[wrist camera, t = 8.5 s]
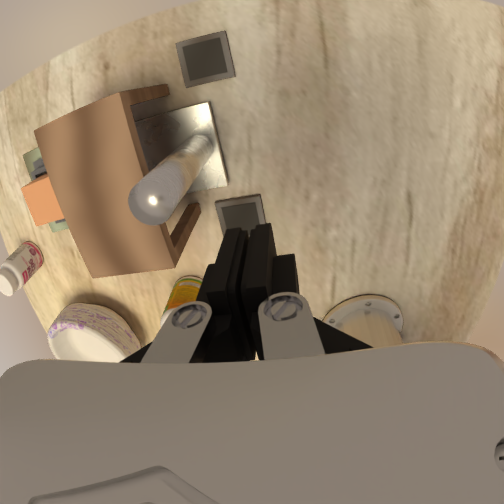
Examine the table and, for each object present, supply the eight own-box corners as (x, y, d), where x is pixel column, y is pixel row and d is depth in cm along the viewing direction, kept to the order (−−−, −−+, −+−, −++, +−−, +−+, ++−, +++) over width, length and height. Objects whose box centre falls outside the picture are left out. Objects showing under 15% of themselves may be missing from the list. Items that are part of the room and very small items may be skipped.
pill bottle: (48, 264, 42) (19, 298, 35) (31, 268, 43) (3, 299, 36) (35, 238, 40) (3, 269, 32) (18, 243, 40) (-13, 273, 33)
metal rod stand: (209, 101, 29) (159, 125, 16) (228, 182, 34) (199, 260, 21) (36, 160, 33) (-46, 211, 20) (59, 220, 37) (-8, 287, 24)
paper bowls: (85, 272, 42) (59, 307, 35) (165, 331, 47) (151, 371, 40) (57, 319, 49) (37, 350, 42) (123, 366, 54) (110, 400, 47)
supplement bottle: (172, 272, 41) (150, 324, 33) (213, 277, 41) (198, 331, 33) (175, 303, 44) (156, 356, 36) (213, 308, 44) (200, 362, 35)
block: (72, 162, 32) (48, 176, 28) (85, 199, 35) (64, 218, 30) (44, 173, 33) (20, 188, 29) (57, 208, 35) (36, 226, 31)
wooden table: (225, 31, 25) (201, 10, 16) (267, 234, 37) (265, 296, 28) (12, 118, 30) (-48, 143, 20) (68, 264, 42) (29, 313, 32)
